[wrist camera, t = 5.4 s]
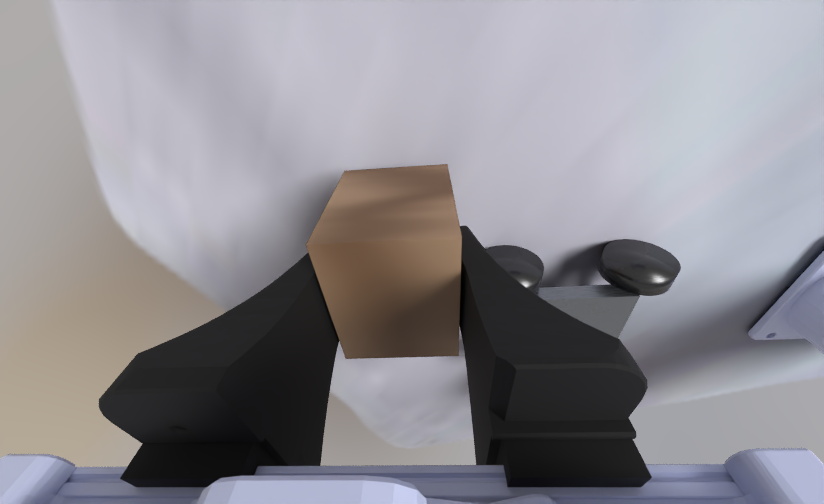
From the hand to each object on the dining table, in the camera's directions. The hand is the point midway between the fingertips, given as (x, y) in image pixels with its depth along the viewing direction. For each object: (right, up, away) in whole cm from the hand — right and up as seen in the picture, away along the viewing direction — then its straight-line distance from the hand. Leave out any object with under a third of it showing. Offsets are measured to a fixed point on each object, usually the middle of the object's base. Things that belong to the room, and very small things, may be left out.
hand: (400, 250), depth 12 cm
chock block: (0, +1, +1) cm, 2 cm away
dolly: (+9, -3, +6) cm, 11 cm away
